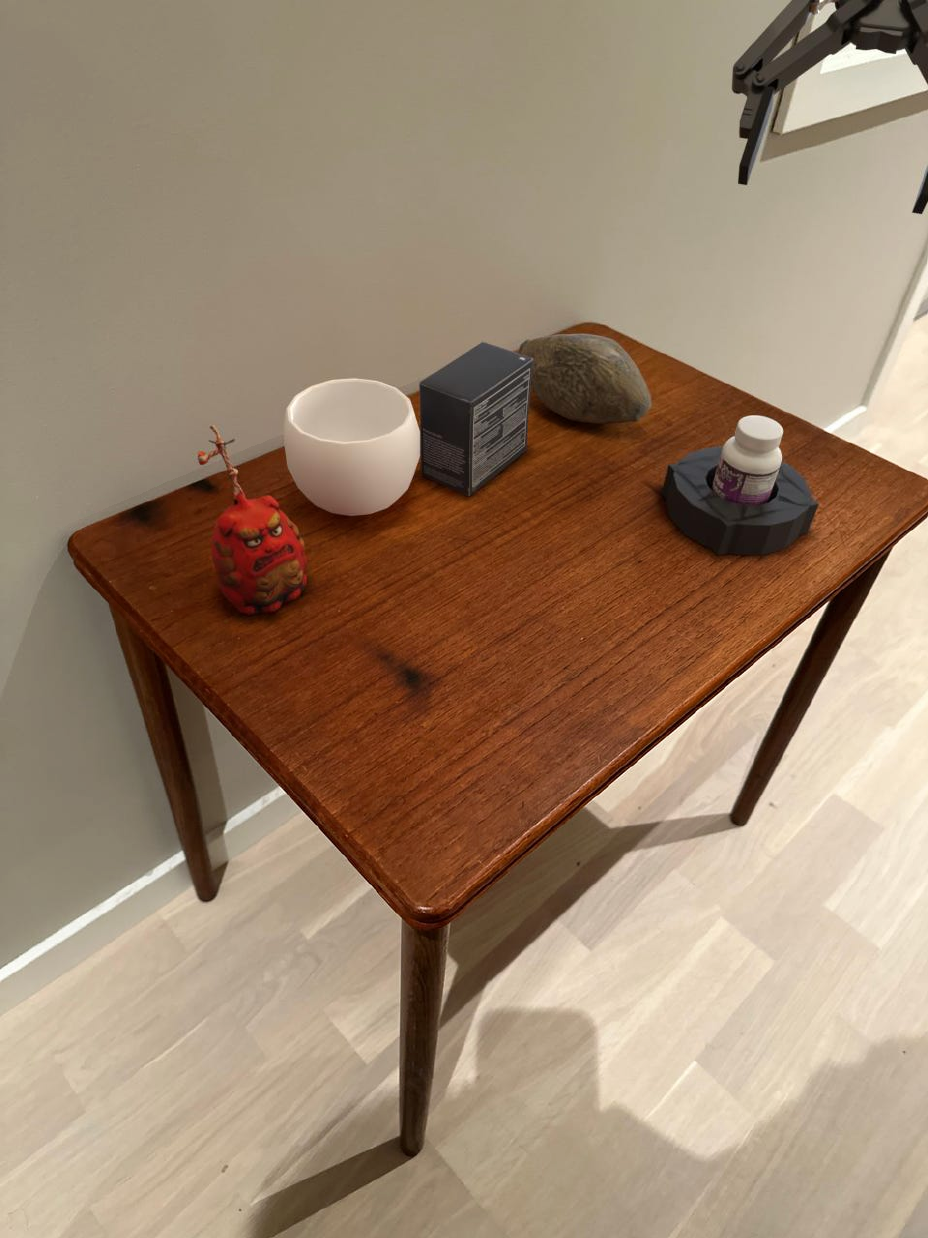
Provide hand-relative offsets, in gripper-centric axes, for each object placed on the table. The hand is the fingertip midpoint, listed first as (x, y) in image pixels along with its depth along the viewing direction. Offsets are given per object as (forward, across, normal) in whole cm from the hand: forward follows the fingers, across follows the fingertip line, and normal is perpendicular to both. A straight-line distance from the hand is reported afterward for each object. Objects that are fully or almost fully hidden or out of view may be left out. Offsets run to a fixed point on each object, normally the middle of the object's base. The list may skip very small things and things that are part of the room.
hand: (829, 190), depth 68 cm
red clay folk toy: (+44, +34, +5) cm, 56 cm away
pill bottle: (+24, 0, -16) cm, 28 cm away
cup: (+34, +33, -6) cm, 48 cm away
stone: (+16, +19, -24) cm, 34 cm away
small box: (+26, +26, -13) cm, 39 cm away
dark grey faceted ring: (+24, 0, -16) cm, 28 cm away
